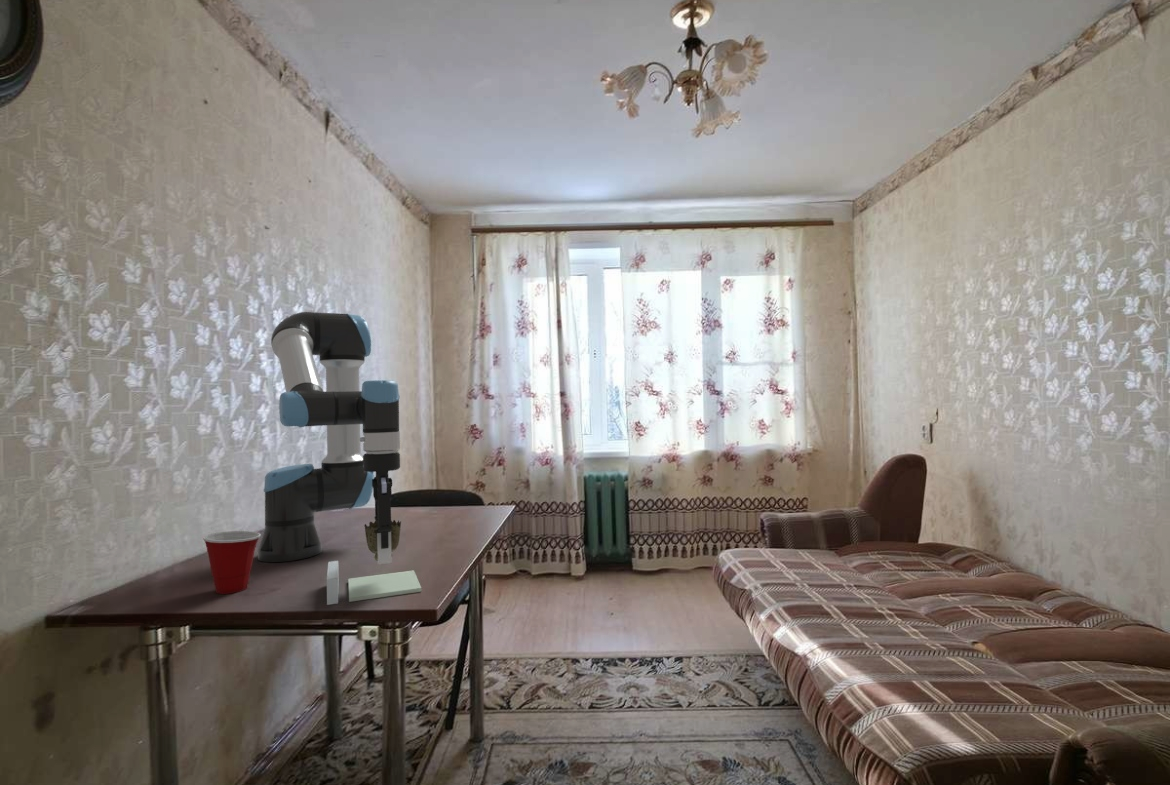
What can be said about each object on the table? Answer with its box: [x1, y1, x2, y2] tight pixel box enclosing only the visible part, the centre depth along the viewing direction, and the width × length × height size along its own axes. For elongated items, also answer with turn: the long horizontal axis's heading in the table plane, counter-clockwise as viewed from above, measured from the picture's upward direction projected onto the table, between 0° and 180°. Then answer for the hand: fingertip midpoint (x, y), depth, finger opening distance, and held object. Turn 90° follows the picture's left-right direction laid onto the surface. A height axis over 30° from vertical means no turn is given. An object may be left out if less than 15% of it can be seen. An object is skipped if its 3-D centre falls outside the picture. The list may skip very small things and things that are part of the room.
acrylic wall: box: [326, 560, 340, 606], centre depth 122 cm, size 14×2×5 cm, turn 22°
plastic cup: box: [202, 530, 262, 595], centre depth 126 cm, size 11×11×12 cm
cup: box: [363, 519, 402, 562], centre depth 126 cm, size 8×7×8 cm
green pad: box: [347, 570, 422, 603], centre depth 126 cm, size 14×14×1 cm
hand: (383, 558), depth 126 cm, fingers closed on cup, 7 cm apart
